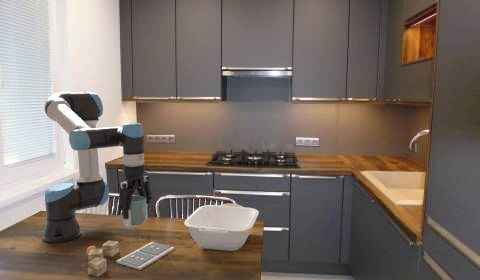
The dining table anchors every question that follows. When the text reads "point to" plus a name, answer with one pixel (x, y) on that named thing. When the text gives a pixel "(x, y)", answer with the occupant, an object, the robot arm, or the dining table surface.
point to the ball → (90, 249)
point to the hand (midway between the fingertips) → (136, 222)
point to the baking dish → (221, 226)
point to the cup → (138, 209)
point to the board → (145, 255)
